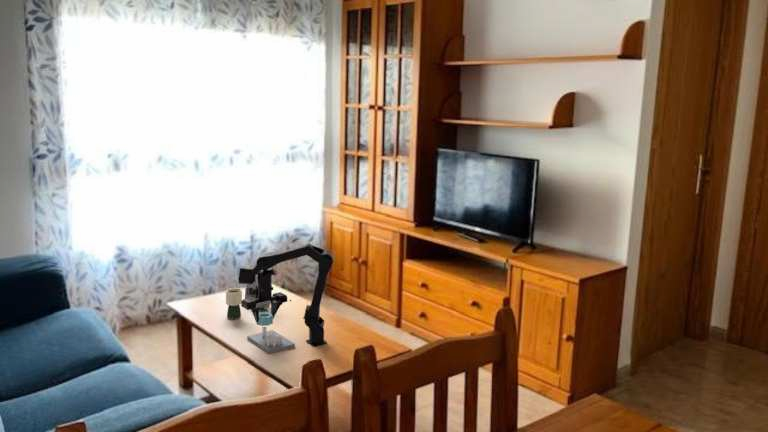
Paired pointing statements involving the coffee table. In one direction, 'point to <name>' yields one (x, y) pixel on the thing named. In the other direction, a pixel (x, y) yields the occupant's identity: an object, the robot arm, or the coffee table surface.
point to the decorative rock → (263, 305)
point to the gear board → (269, 348)
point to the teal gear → (265, 319)
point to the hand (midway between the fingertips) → (264, 320)
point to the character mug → (233, 302)
